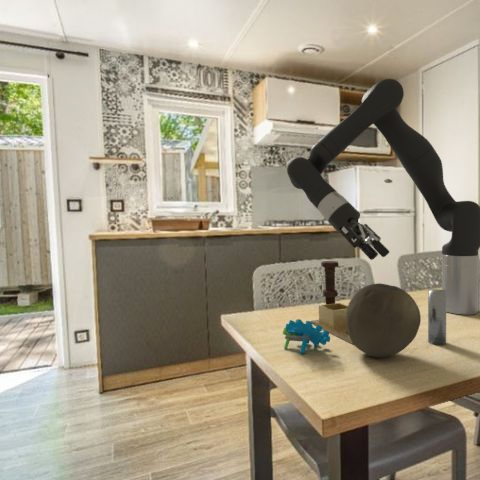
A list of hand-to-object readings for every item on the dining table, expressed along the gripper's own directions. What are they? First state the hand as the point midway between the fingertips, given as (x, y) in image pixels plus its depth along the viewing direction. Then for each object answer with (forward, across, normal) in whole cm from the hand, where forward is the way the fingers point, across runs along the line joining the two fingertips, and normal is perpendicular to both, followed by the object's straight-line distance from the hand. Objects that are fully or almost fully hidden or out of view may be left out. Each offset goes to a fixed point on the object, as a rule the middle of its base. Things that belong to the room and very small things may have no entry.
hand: (381, 256), depth 88 cm
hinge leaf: (+9, -3, +19) cm, 21 cm away
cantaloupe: (+18, -15, +10) cm, 26 cm away
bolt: (-2, +17, +29) cm, 34 cm away
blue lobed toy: (+8, -22, +21) cm, 31 cm away
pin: (+23, -1, +4) cm, 23 cm away
